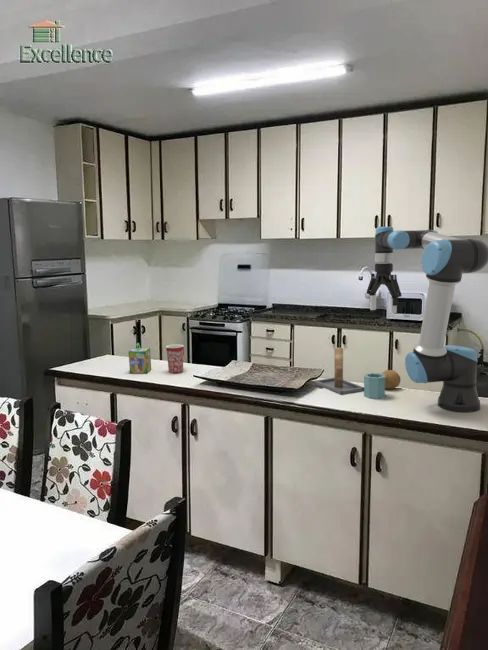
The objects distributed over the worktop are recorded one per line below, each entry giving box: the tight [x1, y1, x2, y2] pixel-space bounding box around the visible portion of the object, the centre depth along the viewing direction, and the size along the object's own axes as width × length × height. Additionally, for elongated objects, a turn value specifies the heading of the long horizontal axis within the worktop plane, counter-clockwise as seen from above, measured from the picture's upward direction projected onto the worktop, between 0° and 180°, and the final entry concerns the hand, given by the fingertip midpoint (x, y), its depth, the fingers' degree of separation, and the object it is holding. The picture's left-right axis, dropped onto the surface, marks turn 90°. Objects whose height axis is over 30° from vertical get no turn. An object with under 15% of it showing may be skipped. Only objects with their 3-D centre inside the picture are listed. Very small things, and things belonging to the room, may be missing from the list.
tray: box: [314, 377, 364, 396], centre depth 228 cm, size 20×12×2 cm, turn 25°
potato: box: [380, 369, 401, 390], centre depth 227 cm, size 10×14×8 cm
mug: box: [165, 343, 185, 374], centre depth 269 cm, size 13×9×14 cm
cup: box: [363, 372, 386, 400], centre depth 214 cm, size 8×8×10 cm
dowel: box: [334, 347, 344, 388], centre depth 227 cm, size 4×4×17 cm
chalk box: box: [127, 342, 152, 375], centre depth 270 cm, size 9×9×15 cm
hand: (383, 311), depth 231 cm, fingers open, 13 cm apart
